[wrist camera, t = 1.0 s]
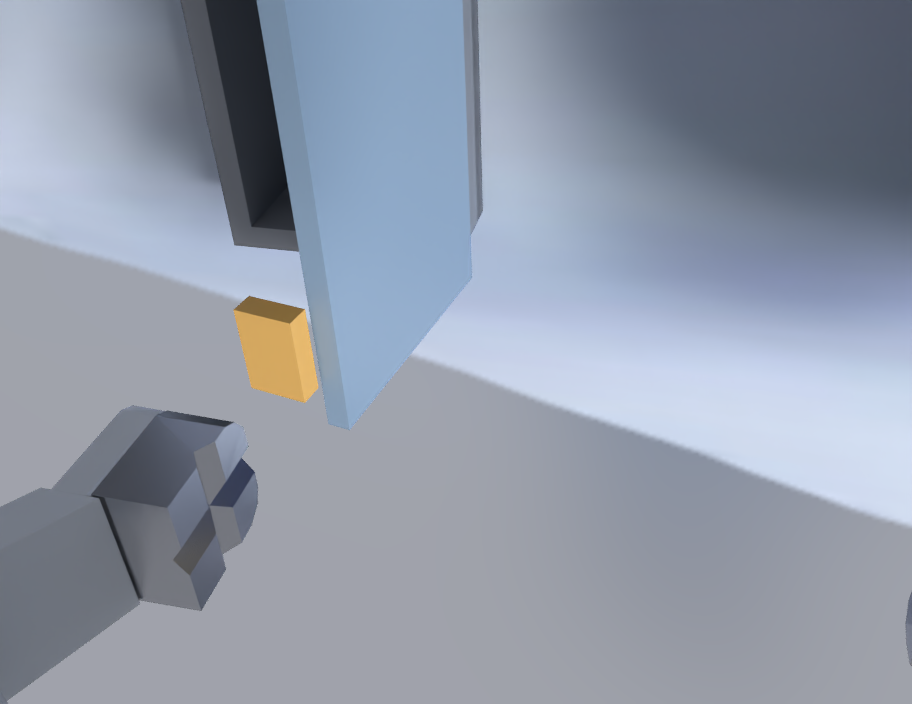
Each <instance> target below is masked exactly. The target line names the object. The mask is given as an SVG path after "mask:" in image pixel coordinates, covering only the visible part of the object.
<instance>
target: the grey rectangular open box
mask: <svg viewBox="0 0 912 704" xmlns="http://www.w3.org/2000/svg"><path fill="white" fill-rule="evenodd" d="M462 1H463V30H464V59H465V88H466V118H467V147H468V176H469V205H470V234H472V232H473V230H474V228H475V226H476V224H477V221H478V219H479V217H480V215H481V213H482V211H483V207H482V166H481V125H480V84H479V43H478V2H477V0H462ZM181 4H182V9H183V13H184V18H185V22H186V27H187V31H188V36H189V41H190V45H191V50H192V54H193V59H194V63H195V68H196V72H197V77H198V81H199V86H200V91H201V95H202V100H203V104H204V109H205V113H206V118H207V122H208V127H209V131H210V136H211V141H212V145H213V150H214V154H215V159H216V163H217V168H218V172H219V177H220V181H221V186H222V191H223V195H224V200H225V204H226V209H227V213H228V218H229V222H230V227H231V231H232V236H233V240H234V245H238V246H248V247H258V248H268V249H278V250H288V251H298V252H299V247H298V241H297V235H296V230H295V224H294V218H293V212H292V206H291V200H290V194H289V188H288V183H287V177H286V171H285V165H284V159H283V153H282V147H281V141H280V135H279V130H278V124H277V118H276V112H275V106H274V100H273V94H272V88H271V83H270V77H269V71H268V65H267V59H266V53H265V47H264V41H263V36H262V30H261V24H260V18H259V12H258V6H257V0H181Z"/></svg>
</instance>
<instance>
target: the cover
mask: <svg viewBox="0 0 912 704" xmlns="http://www.w3.org/2000/svg"><path fill="white" fill-rule="evenodd" d="M257 6H258V12H259V18H260V24H261V30H262V36H263V41H264V47H265V53H266V59H267V65H268V71H269V77H270V83H271V88H272V94H273V100H274V106H275V112H276V118H277V124H278V130H279V135H280V141H281V147H282V153H283V159H284V165H285V171H286V177H287V183H288V188H289V194H290V200H291V206H292V212H293V218H294V224H295V230H296V235H297V241H298V247H299V253H300V259H301V265H302V271H303V277H304V282H305V288H306V294H307V300H308V306H309V312H310V318H311V324H312V329H313V335H314V341H315V347H316V353H317V359H318V365H319V371H320V376H321V382H322V388H323V394H324V400H325V406H326V411H327V418H328V423H329V424H330V425H334V426H337V427H341V428H344V429H348V430H350V429H351V428H352V426H353V425H354V424H355V423H356V421H357V420H358V419H359V418H360V416H361V415H362V414H363V413H364V411H365V410H366V409H367V408H368V406H369V405H370V404H371V402H372V401H373V400H374V399H375V398H376V397H377V395H378V394H379V393H380V392H381V390H382V389H383V387H384V386H385V385H386V384H387V383H388V382H389V380H390V379H391V378H392V377H393V375H394V374H395V373H396V371H397V370H398V369H399V368H400V367H401V365H402V364H403V363H404V362H405V360H406V359H407V358H408V357H409V355H410V354H411V353H412V352H413V350H414V349H415V348H416V347H417V345H418V344H419V343H420V342H421V340H422V339H423V338H424V337H425V336H426V334H427V333H428V332H429V331H430V329H431V328H432V327H433V326H434V324H435V323H436V322H437V321H438V319H439V318H440V317H441V316H442V314H443V313H444V312H445V311H446V309H447V308H448V307H449V306H450V304H451V303H452V302H453V301H454V299H455V298H456V297H457V296H458V294H459V293H460V292H461V291H462V289H463V288H464V287H465V286H466V284H467V283H468V282H469V281H470V279H471V278H472V263H471V234H470V205H469V176H468V147H467V118H466V88H465V59H464V30H463V1H462V0H257ZM234 314H235V319H236V323H237V327H238V331H239V336H240V340H241V344H242V349H243V353H244V357H245V361H246V366H247V370H248V374H249V379H250V383H251V387H252V388H254V389H258V390H261V391H265V392H268V393H272V394H275V395H279V396H282V397H286V398H289V399H293V400H296V401H300V402H304V403H305V402H306V401H307V400H308V399H309V398H310V397H311V395H312V394H313V393H314V392H315V391H316V390H317V389H318V382H317V376H316V371H315V366H314V359H313V353H312V348H311V342H310V336H309V330H308V325H307V319H306V313H305V309H301V308H297V307H293V306H289V305H285V304H280V303H276V302H272V301H268V300H264V299H259V298H255V297H251V296H249V297H247V298H246V299H245V300H244V301H243V302H242V303H241V304H240V305H238V306H237V307H236V308H235V309H234Z"/></svg>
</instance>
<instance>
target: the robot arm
mask: <svg viewBox="0 0 912 704" xmlns="http://www.w3.org/2000/svg"><path fill="white" fill-rule="evenodd" d="M248 447H249V446H248V442H247V439H246V435H245V432H244V428H243V426H240V425H239V424H237V423H235V422H229V421H223V420H218V419H212V418H207V417H200V416H195V415H189V414H184V413H178V412H172V411H162V410H156V409H151V408H145V407H139V406H134V405H133V406H130V407H128V408H125V409H123V410H121V411H120V412H119V413H118V414H117V415H116V417H115V418H114V419H113V420H112V421H111V422H110V423H109V424H108V426H107V427H106V428H105V429H104V430H103V431H102V432H101V433H100V435H99V436H98V437H97V438H96V439H95V440H94V441H93V443H92V444H91V445H90V446H89V447H88V448H87V450H86V451H85V452H84V453H83V454H82V455H81V456H80V457H79V458H78V460H77V461H76V462H75V463H74V464H73V465H72V466H71V467H70V469H69V470H68V471H67V472H66V473H65V474H64V475H63V477H62V478H61V479H60V480H59V481H58V482H57V483H56V484H55V486H54V487H53V488H52V489H45V488H39V489H37V490H35V491H33V492H31V493H29V494H27V495H25V496H22V497H20V498H18V499H16V500H14V501H12V502H10V503H8V504H6V505H3V506H1V507H0V704H8V702H7V700H9V699H10V698H11V697H13V696H14V695H16V694H17V693H18V692H20V691H21V690H23V689H24V688H25V687H27V686H28V685H29V684H31V683H32V682H34V681H35V680H36V679H38V678H39V677H40V676H42V675H43V674H44V673H46V672H47V671H49V670H50V669H51V668H53V667H54V666H56V665H57V664H58V663H60V662H61V661H62V660H64V659H65V658H66V657H68V656H69V655H71V654H72V653H73V652H75V651H76V650H77V649H79V648H80V647H82V646H83V645H84V644H85V643H87V642H88V641H90V640H91V639H93V638H94V637H95V636H97V635H98V634H99V633H101V632H102V631H104V630H105V629H106V628H108V627H109V626H110V625H112V624H113V623H114V622H116V621H117V620H119V619H120V618H121V617H123V616H124V615H126V614H127V613H128V612H130V611H131V610H132V609H134V608H135V607H137V606H138V605H139V604H140V602H139V600H141V601H147V602H153V603H158V604H164V605H170V606H176V607H182V608H187V609H193V610H199V611H201V610H202V609H203V607H204V605H205V604H206V602H207V600H208V599H209V597H210V595H211V594H212V592H213V590H214V589H215V587H216V585H217V584H218V582H219V580H220V579H221V577H222V575H223V574H224V572H225V570H226V567H225V562H224V557H223V554H224V553H225V552H227V551H229V550H230V549H232V548H234V547H235V546H237V545H238V544H240V543H242V541H243V540H244V538H245V536H246V534H247V533H248V531H249V529H250V527H251V526H252V522H253V519H254V515H255V511H256V508H257V504H258V484H257V480H256V476H255V472H254V471H253V470H252V469H251V468H250V467H249V466H248V464H247V463H246V462H245V461H244V460H243V459H242V458H241V457H242V456H243V454H244V453H245V451H246V450H247V448H248ZM906 644H907V650H908V656H909V662H910V665H911V666H912V592H911V595H910V598H909V602H908V609H907V616H906Z"/></svg>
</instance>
